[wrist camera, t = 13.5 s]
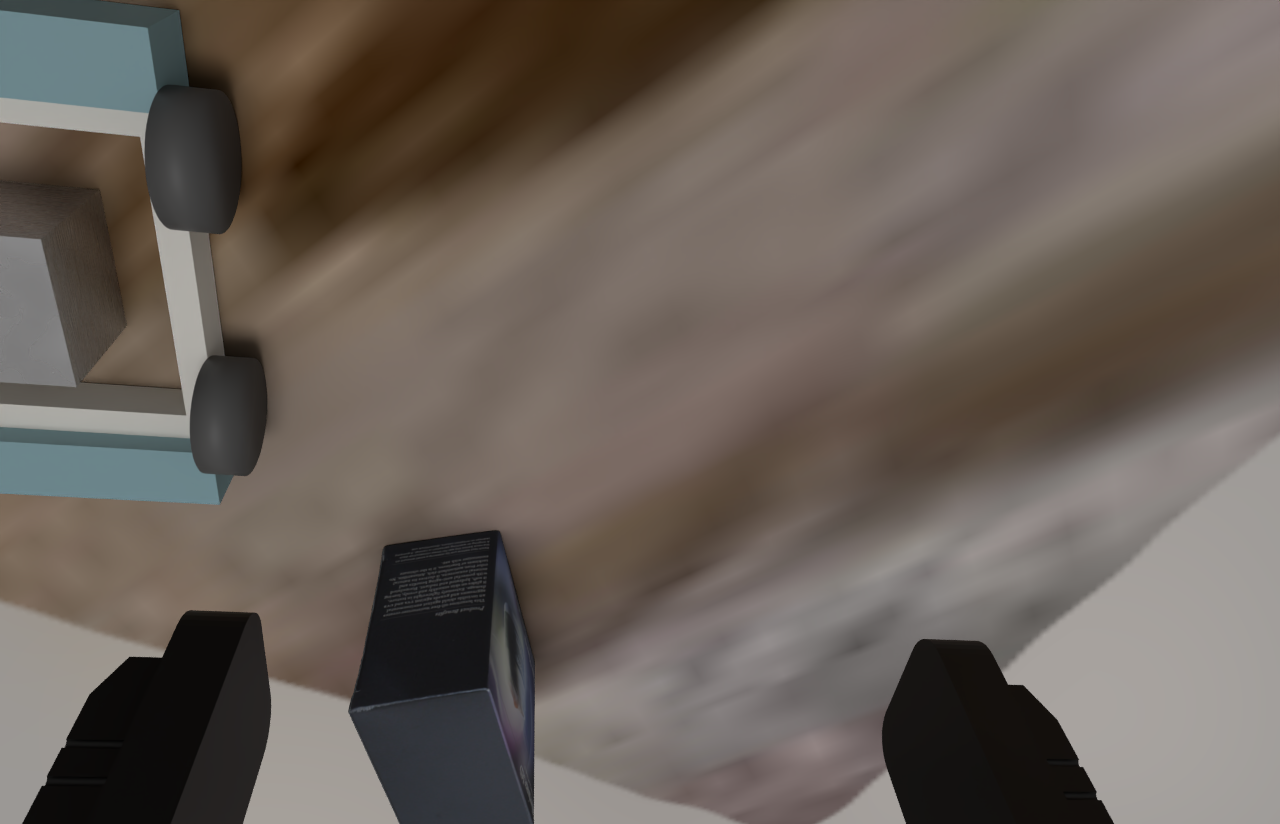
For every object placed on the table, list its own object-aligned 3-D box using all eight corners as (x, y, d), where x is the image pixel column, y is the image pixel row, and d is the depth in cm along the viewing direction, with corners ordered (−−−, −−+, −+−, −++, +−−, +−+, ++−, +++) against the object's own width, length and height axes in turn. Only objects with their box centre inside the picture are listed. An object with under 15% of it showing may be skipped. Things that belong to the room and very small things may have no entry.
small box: (543, 663, 52) (541, 835, 44) (431, 680, 52) (406, 854, 44) (506, 525, 46) (494, 692, 38) (379, 544, 46) (339, 715, 38)
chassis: (-269, -45, 30) (-400, -20, 26) (226, 16, 32) (178, 47, 28) (-88, 445, 41) (-160, 517, 37) (274, 465, 43) (244, 536, 39)
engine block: (-25, 176, 35) (-103, 227, 31) (100, 188, 35) (40, 239, 31) (13, 316, 38) (-53, 378, 34) (127, 324, 39) (76, 387, 35)
